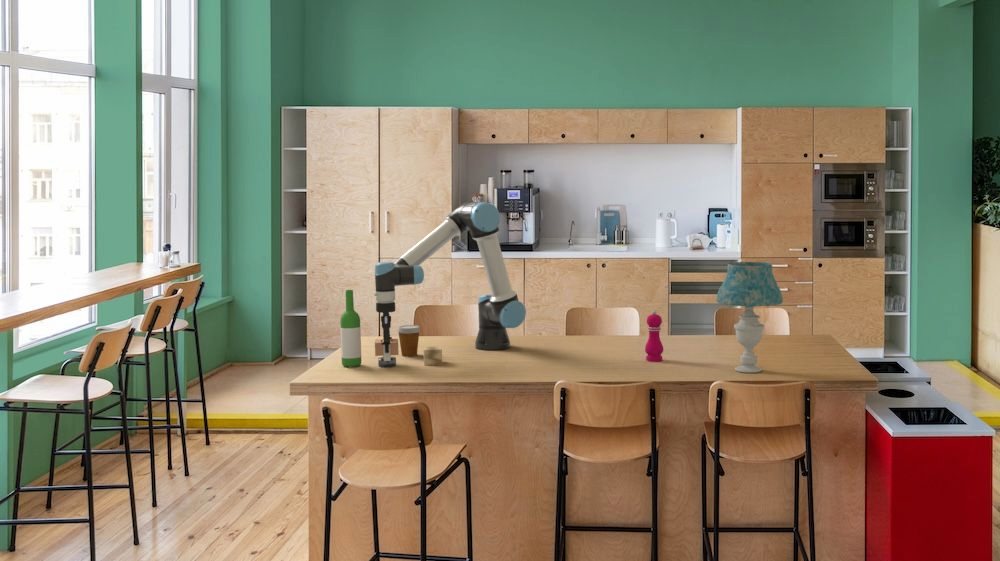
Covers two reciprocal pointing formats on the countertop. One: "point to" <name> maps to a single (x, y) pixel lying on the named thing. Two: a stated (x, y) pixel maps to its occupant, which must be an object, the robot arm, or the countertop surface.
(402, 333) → the disposable coffee cup
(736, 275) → the table lamp
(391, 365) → the light bulb
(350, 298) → the wine bottle
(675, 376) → the countertop surface
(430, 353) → the stand
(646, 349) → the pepper mill
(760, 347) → the countertop surface
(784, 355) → the countertop surface
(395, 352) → the square frame block
